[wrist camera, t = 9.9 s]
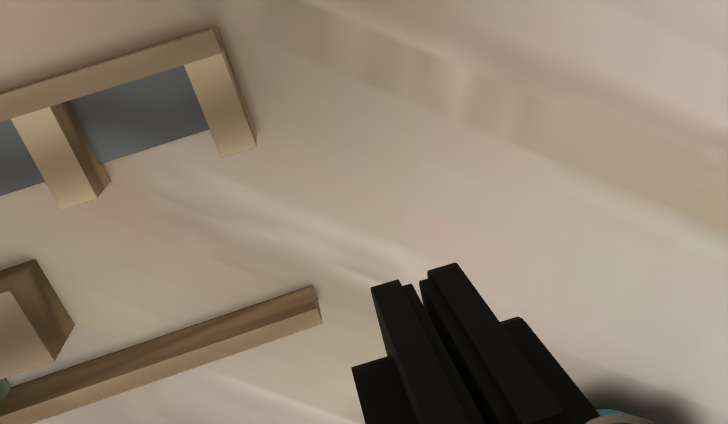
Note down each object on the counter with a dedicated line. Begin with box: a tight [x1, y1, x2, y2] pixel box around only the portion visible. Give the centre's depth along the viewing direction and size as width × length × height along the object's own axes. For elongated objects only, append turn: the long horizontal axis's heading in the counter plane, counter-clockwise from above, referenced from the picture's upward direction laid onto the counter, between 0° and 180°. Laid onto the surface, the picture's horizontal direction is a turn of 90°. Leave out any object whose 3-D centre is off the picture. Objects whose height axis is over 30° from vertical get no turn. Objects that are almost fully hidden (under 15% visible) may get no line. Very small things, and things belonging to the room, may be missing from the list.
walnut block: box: [0, 259, 74, 380], centre depth 33 cm, size 5×5×4 cm
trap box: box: [0, 27, 322, 424], centre depth 32 cm, size 19×22×4 cm
